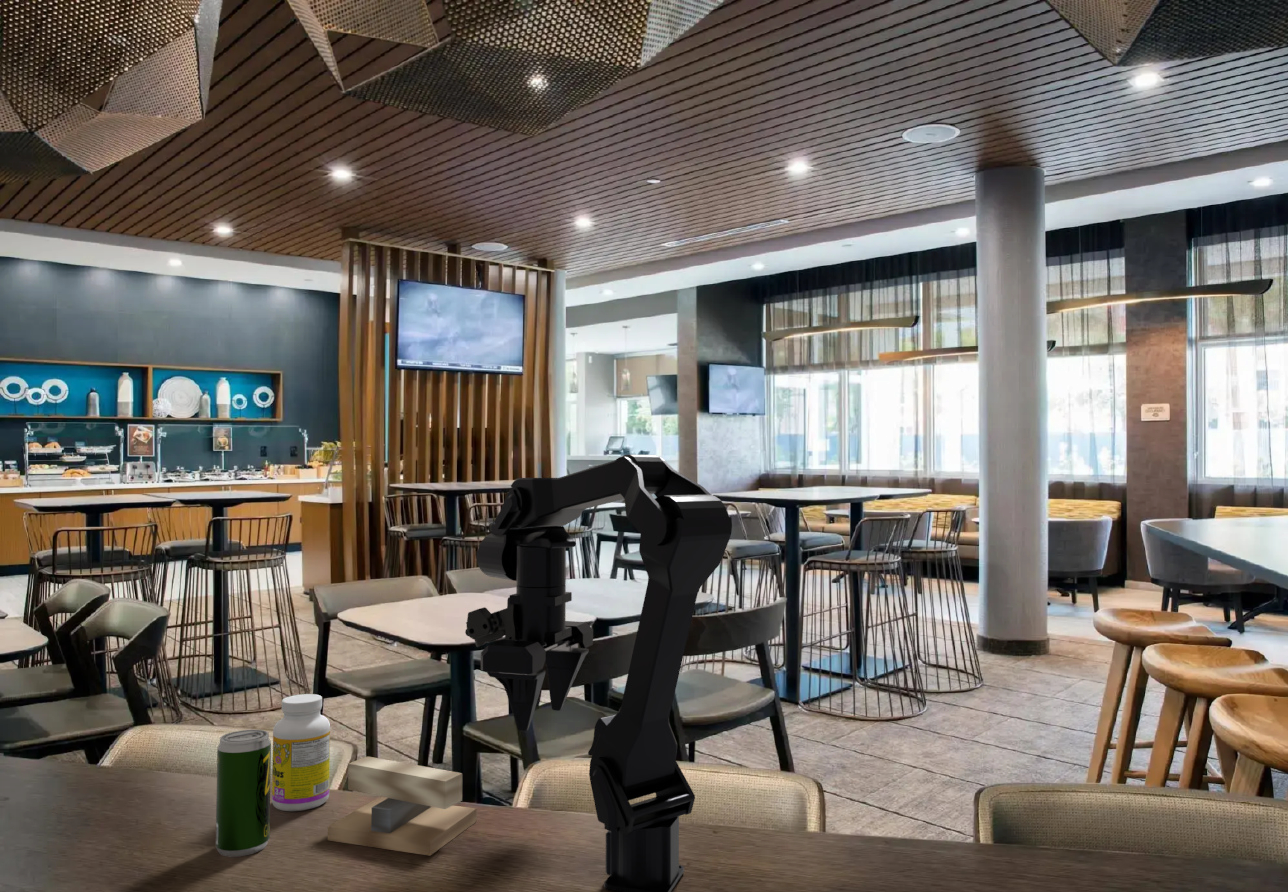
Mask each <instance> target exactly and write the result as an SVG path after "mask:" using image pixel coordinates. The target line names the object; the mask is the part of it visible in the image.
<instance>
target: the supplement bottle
mask: <svg viewBox="0 0 1288 892" xmlns="http://www.w3.org/2000/svg"><path fill="white" fill-rule="evenodd" d="M322 707H323V696H321V695H319V694H315V693H305V694H304V693H303V694H302V693H301V694H295V695H290V696H287V697H284V698H283V699H282V700H281V711H282V714H283V718H281V719H279V720H278V721H277V722H276V723H274V724H275V725H274V726H273V729H272V730H273V731H272V765H271V766H272V767H271V768H272V769H271V771H272V772H271V773H272V774H271V776H272V778H271V787H272V788H271V803H272V806H273V807H274V808H276V809H277V810H279V811H285V812H300V811H301V812H302V811H307V810H311V809H314V808H317V807H320V806H321V805H324V804H325V802H326V801H328V799H329V797H330V773H331V772H330V770H331V769H330V764H331V761H330V760H331V759H330V758H331V757H330V756H331V755H330V754H331V753H330V751H331V749H330V748H331V746H330V745H331V744H330V743H331V723H330V720H329V719H328V718H327V717H326V716H325V715H322V714H321V710H322Z"/></svg>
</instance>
